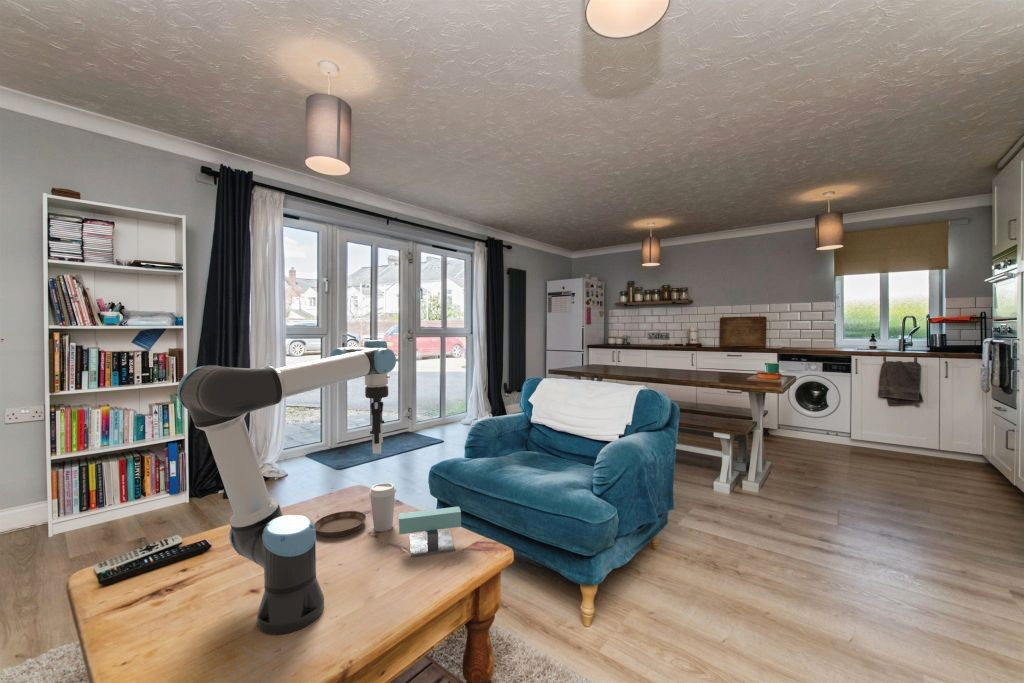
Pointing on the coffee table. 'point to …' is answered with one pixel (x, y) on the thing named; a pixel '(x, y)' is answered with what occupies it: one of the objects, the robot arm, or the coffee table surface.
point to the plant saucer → (340, 523)
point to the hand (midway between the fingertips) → (377, 447)
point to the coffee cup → (382, 506)
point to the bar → (429, 520)
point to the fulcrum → (431, 543)
